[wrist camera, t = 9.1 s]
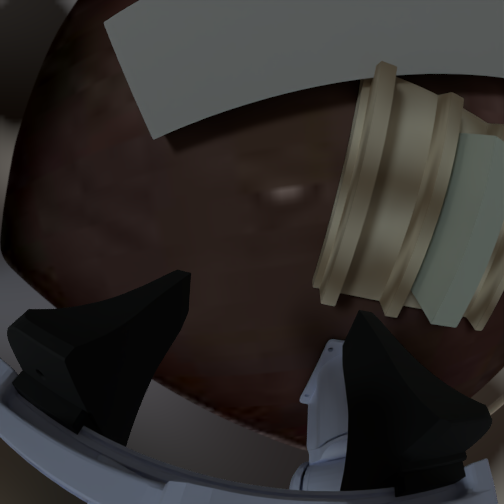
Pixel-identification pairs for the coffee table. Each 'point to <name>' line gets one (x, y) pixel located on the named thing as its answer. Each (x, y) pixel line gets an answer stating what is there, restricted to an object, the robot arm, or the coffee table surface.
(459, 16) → the grey rectangular block
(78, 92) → the coffee table surface
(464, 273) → the clay strip
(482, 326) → the ribbed tan slab
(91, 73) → the coffee table surface
